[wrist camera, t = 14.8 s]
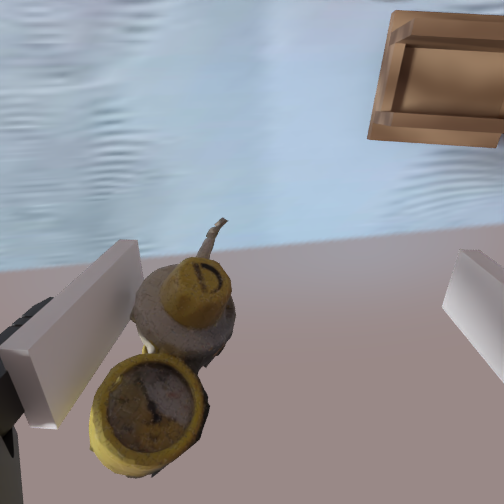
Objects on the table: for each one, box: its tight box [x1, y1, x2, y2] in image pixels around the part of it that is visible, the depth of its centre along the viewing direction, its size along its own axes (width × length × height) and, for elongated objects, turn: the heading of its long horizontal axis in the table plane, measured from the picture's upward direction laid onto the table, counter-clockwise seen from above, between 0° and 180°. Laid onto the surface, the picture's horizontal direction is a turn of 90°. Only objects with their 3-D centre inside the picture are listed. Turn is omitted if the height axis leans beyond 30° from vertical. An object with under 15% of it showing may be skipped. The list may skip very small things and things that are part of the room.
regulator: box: [89, 218, 236, 478], centre depth 15 cm, size 8×4×15 cm, turn 152°
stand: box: [367, 10, 504, 148], centre depth 32 cm, size 12×14×9 cm
